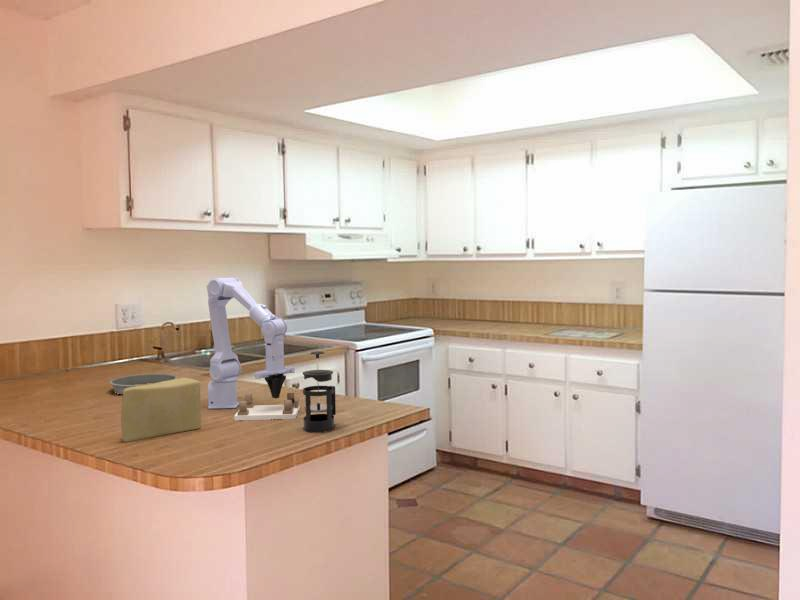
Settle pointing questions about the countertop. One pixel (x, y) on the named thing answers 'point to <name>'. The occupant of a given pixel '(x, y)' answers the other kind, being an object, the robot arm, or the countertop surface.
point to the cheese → (160, 409)
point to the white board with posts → (266, 410)
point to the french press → (318, 420)
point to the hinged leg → (291, 398)
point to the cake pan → (138, 380)
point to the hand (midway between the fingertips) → (275, 397)
